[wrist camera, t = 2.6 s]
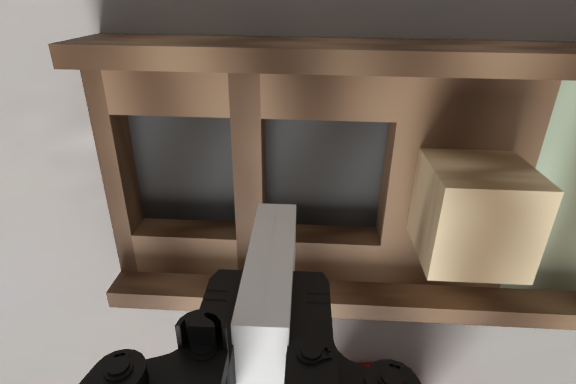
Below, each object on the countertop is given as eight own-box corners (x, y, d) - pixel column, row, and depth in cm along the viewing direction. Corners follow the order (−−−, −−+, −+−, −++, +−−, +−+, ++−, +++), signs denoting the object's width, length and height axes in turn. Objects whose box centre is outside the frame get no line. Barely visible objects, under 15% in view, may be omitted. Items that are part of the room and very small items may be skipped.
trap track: (715, 44, 20) (865, 65, 14) (610, 280, 26) (688, 357, 20) (99, 33, 21) (25, 48, 16) (139, 259, 27) (96, 326, 22)
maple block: (513, 150, 20) (564, 192, 16) (492, 230, 22) (532, 285, 18) (419, 148, 20) (445, 188, 16) (406, 227, 22) (427, 280, 18)
